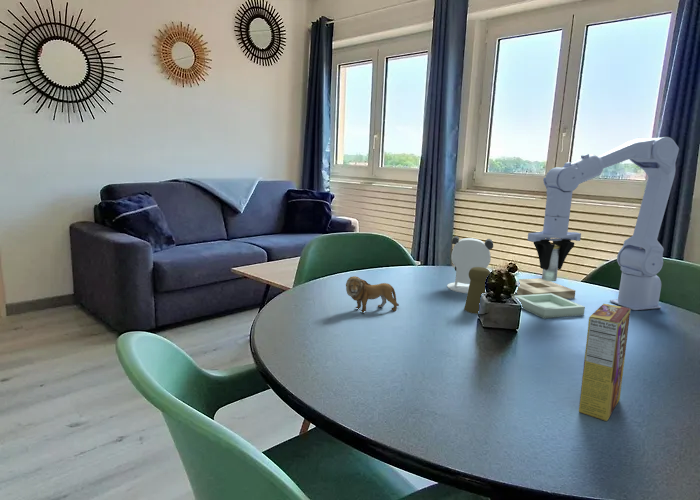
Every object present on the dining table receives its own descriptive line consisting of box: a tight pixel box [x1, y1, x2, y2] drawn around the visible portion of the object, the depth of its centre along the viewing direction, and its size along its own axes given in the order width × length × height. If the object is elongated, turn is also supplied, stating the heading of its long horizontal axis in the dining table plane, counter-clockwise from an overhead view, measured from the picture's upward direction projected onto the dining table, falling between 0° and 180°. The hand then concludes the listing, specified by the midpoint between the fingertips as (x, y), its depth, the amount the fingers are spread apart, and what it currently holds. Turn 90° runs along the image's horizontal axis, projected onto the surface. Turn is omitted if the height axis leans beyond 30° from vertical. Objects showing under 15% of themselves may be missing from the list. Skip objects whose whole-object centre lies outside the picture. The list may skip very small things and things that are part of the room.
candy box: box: [578, 303, 632, 422], centre depth 71 cm, size 9×4×15 cm, turn 140°
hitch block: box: [516, 277, 576, 300], centre depth 136 cm, size 14×14×2 cm
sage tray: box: [515, 293, 586, 319], centre depth 120 cm, size 12×12×2 cm
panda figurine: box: [446, 235, 494, 294], centre depth 137 cm, size 12×11×15 cm
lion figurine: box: [345, 275, 400, 312], centre depth 114 cm, size 15×5×9 cm, turn 114°
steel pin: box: [541, 244, 560, 282], centre depth 120 cm, size 4×4×9 cm
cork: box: [463, 267, 491, 315], centre depth 117 cm, size 6×6×11 cm
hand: (550, 268), depth 120 cm, fingers closed on steel pin, 3 cm apart
